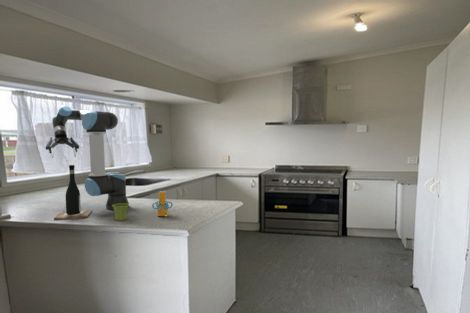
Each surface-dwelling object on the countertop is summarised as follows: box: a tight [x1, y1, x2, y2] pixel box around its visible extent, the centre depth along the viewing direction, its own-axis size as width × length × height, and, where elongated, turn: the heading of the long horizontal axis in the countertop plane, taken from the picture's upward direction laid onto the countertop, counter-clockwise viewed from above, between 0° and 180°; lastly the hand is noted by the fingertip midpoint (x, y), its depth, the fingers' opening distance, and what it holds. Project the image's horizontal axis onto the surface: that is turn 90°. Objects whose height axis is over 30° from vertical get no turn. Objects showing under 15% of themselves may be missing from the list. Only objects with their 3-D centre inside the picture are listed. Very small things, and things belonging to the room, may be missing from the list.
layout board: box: [53, 209, 93, 221], centre depth 200 cm, size 18×16×1 cm
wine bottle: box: [65, 164, 82, 215], centre depth 199 cm, size 8×8×30 cm
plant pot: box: [112, 203, 130, 221], centre depth 191 cm, size 9×9×9 cm
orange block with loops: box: [151, 190, 173, 217], centre depth 199 cm, size 12×10×15 cm
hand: (64, 156), depth 218 cm, fingers open, 13 cm apart
